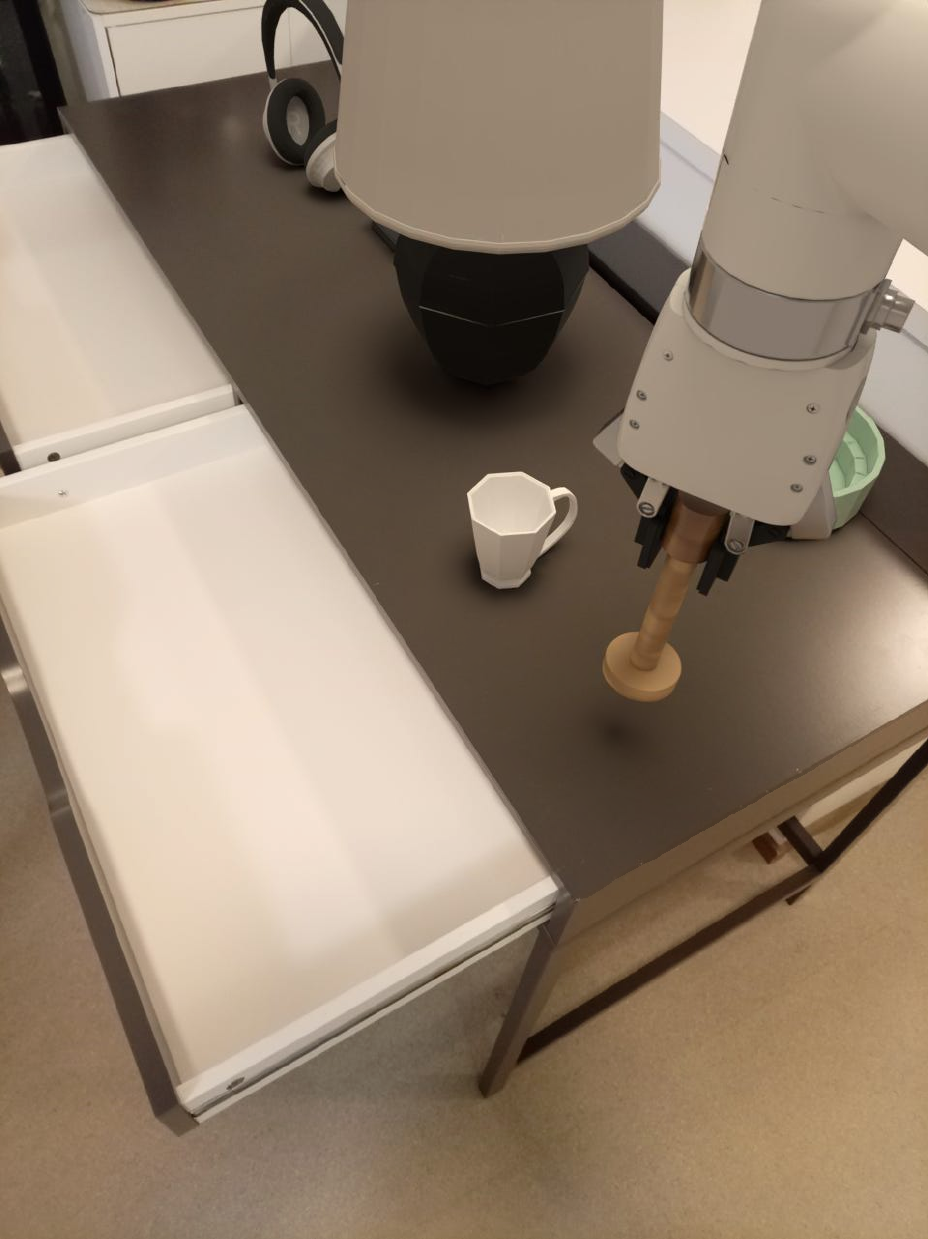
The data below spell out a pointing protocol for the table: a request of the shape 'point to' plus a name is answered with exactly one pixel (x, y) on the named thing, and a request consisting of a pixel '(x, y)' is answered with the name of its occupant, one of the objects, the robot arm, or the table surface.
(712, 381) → the robot arm
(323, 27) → the headphones
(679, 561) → the brown long flanged bar
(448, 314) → the table lamp
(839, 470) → the bowl
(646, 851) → the table surface
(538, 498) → the cup
